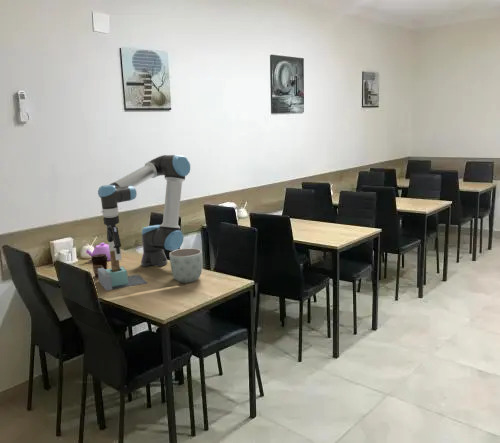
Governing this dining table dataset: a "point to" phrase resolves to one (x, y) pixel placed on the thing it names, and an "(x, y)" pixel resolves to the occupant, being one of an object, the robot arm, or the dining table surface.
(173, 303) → the dining table surface
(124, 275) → the block
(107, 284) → the jig
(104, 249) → the teapot
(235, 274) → the dining table surface
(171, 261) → the planter
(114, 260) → the dowel
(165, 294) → the dining table surface
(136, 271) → the dining table surface
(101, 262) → the coffee cup
